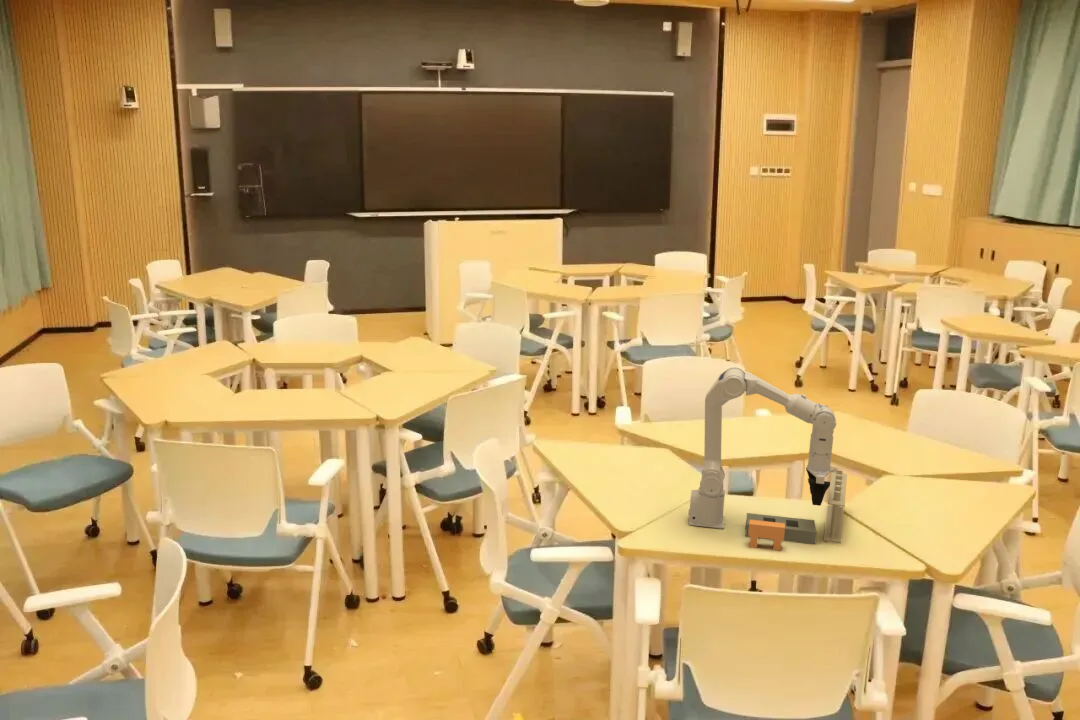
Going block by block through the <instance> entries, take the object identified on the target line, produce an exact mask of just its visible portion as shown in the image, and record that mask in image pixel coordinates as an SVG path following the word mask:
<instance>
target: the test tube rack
mask: <svg viewBox="0 0 1080 720" xmlns="http://www.w3.org/2000/svg"><path fill="white" fill-rule="evenodd" d="M830 473H831V474H830V481H829V482H830V486H829V488H828V491H829V492H828V499H827V508H826V510H827V511H826V518H825V527H824V535H823V541H824V542H828V543H834V544H840V545H841V544H842V534H843V533H842V532H843V518H844V509H845V504H846V496H847V495H846V491H847V477H848V474H847V473H844V472H843V469H840V468H837V469H836V471H834V472H830Z"/></svg>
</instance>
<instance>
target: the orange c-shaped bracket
mask: <svg viewBox="0 0 1080 720" xmlns="http://www.w3.org/2000/svg"><path fill="white" fill-rule="evenodd" d="M784 533H785V523H777V522H768V521H759V520H749V532H748V536H749V537H748V538H750V539H749V548H752V547H753V549H757V548H758V541H759V539H763V538H767V539H766V540H772V539H774V540H772V543H773V544H772V547H773V548H772V549H773V551H780V552H781V550H782V548H781V547H782V541H781V540H784Z"/></svg>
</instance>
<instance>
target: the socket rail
mask: <svg viewBox="0 0 1080 720" xmlns="http://www.w3.org/2000/svg"><path fill="white" fill-rule="evenodd" d="M745 519H746V520H745V521H746V522H745V537H746V538H750V537H749V536H748V532H749V520H759V521H768V522H777V523H785V533H784V540H781V542H782V541H783V542H790V543H792V542H793V543H800V544H809V545H815V544H816V541H817V539H816V538H817V529H816V523H815V519H808V518H807V519H806V518H799V517H798V518H797V517H788V516H777V515H770V514H761V513H750V512H746V518H745ZM762 539H765V540H768V539H767V538H762ZM771 540H772V541H774V539H771Z"/></svg>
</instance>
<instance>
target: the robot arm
mask: <svg viewBox="0 0 1080 720" xmlns="http://www.w3.org/2000/svg"><path fill="white" fill-rule="evenodd" d="M744 394H745V396H752V395H760V396H761V397H764V398H767V399H768V400H770V401H773V402H775V403H777V404H779V405H781V406H784V408H785V412H786V413H787V414H790V415H791V416H794V417H795V418H797V419H799V420H802V421H803V422H805V423H807V424H811V425H812V430H811V434H810V441H809V451H808V460H807V465H806V467H805V470H806V472H807V475H808V478H807V482H808V484H809V493H810V495H811V504H812V506H822V503H823V500H824V496H825V494H826V492H827V491H828V490H829V489H830V481H826V480H825V479H826V477H827V476H829V474H830V473H832V472H835V467H831V461H832V453H833V443H834V432H835V431H834V430H835V428H836V426H837V420H836V417H835V413H834V411H833V410H832V408H830V407H829V406H828V405H827V404H826V405H825V404H823V403H821V402H818V403H817V402H815V401H813V400H811V399H809V398H807V395H806V394H804V393H801V394H799V393H791V394H789V393H787V392H785V391H784V390H782V389H780V388H778V387H777V386H774V385H773V384H771V383H769V382H767V381H766V380H764V379H762V378H760V377H759V376H757V375H755V374H753V373H751V372H749V371H746V370H745V371H744V370H743V369H742V368H740V367H737V366H733V367H730V368H727V369H726V370H724V371H723V372H722V373H720V374H719V375H718V377H717V379H716V380H715V382H714V383H713V385H712V386H711V387H710V389H709V390H708V391H707V393H706V395H705V397H704V448H703V449H704V453H703V454H704V457H703V459H704V460H703V469H702V472H701V480H700V482H699V487H698V489H692V490H691V492H690V503H689V508H688V517H689V519H688V526H694V527H695V526H697V527H703V528H713V529H721V530H722V529H724V528H725V516H724V508H725V495H726V494H725V493H726V491H725V489H724V481H725V477H726V476H725V475H726V474H725V471H724V469H723V467H722V429H723V428H722V425H723V424H722V421H723V420H722V418H723V414H722V413H723V406H724V405H726V403H728V402H729V401H731V400H734V399H738V398H740V397H741V396H742V395H744Z"/></svg>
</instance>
